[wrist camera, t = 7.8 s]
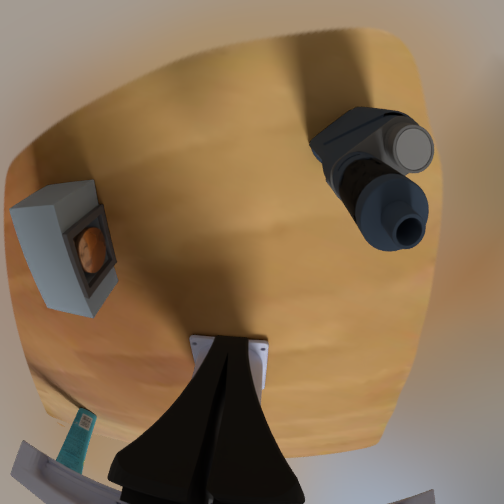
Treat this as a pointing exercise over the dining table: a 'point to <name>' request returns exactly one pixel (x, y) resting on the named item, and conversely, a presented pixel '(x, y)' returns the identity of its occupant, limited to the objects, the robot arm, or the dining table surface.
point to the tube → (77, 441)
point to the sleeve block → (64, 246)
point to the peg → (90, 249)
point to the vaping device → (378, 173)
